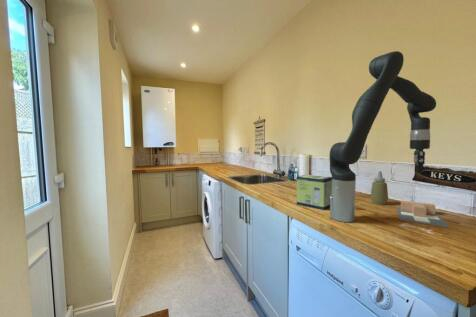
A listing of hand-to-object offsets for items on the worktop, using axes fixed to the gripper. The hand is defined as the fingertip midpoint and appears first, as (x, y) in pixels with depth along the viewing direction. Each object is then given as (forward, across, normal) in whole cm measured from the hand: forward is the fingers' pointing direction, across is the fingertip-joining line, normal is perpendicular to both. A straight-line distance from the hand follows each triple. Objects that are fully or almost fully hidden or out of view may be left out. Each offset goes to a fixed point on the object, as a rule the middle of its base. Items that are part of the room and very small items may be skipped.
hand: (418, 171), depth 103 cm
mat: (+19, +15, -1) cm, 24 cm away
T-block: (+18, +11, -1) cm, 21 cm away
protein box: (+19, +22, -45) cm, 53 cm away
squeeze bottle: (+19, 0, -16) cm, 25 cm away
